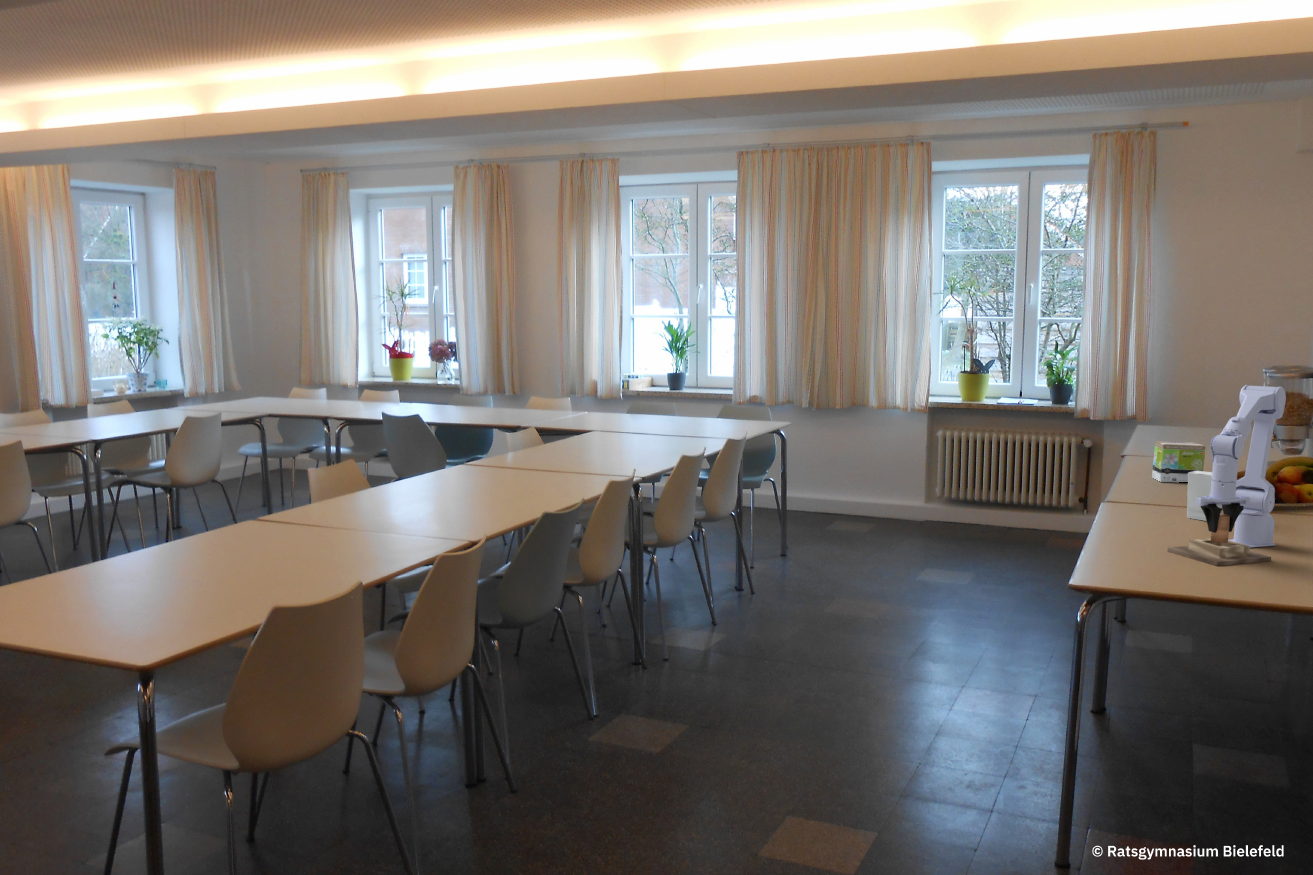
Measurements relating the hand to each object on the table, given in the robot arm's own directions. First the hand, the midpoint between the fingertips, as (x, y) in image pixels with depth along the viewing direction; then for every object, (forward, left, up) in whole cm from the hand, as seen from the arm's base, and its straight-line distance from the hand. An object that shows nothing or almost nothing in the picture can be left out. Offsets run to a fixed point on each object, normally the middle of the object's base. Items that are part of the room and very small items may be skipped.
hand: (1220, 531), depth 264 cm
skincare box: (-34, -38, -7) cm, 51 cm away
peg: (0, 0, -3) cm, 3 cm away
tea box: (-81, -96, -7) cm, 125 cm away
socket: (0, 0, -7) cm, 7 cm away
